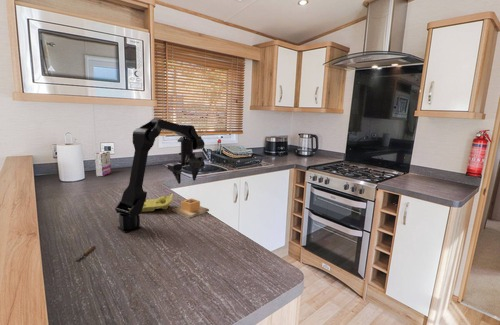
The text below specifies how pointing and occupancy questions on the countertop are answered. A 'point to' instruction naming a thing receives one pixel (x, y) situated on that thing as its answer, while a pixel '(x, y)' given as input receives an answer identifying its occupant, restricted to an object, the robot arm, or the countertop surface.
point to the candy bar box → (102, 163)
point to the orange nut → (190, 205)
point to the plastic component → (157, 203)
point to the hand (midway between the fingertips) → (186, 182)
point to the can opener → (85, 253)
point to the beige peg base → (190, 214)
